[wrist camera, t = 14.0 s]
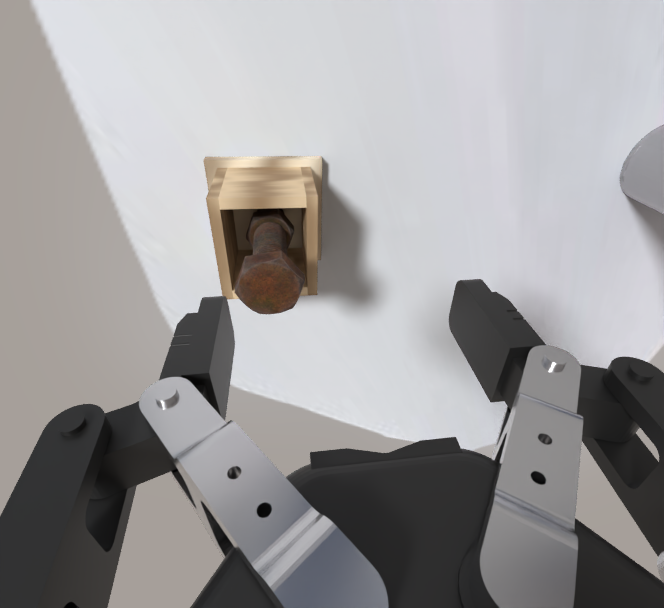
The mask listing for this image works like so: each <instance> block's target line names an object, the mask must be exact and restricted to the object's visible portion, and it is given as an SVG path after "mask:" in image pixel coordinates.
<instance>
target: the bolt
mask: <svg viewBox="0 0 664 608" xmlns="http://www.w3.org/2000/svg"><path fill="white" fill-rule="evenodd" d="M293 234H294V226H293V224H292V223H291V222H290V220H289V219H288V218H287V217H286V216H285V214H284V211H283V209H282V208H266V209H257V211H256V212H253V215H252V217H251V220H250V223H249V227H248V230H247V233H246V240H247V241H248V242H249V243H250V245H251V246H252V247H253V255H250V256H245V259H244V261H243V264H242V267H241V270H240V273H239V276H238V279H237V282H236V285H235V292H234V293H235V294H236V295H237V296H238V298H239V299H240V300H241V301H242V302H243V303H244V304H245V305H246V306H247V307H249V308H250V309H251V310H253V311H255V312H257V313H259V314H276V313H281V312H284V311H287V310H289V309H292V308H293V307H294V306H295V304H296V302H297V300H298V298H299V296H300V294H301V291H302V289H303V286H304V282H305V277H304V273H303V272H302V271H301V270H300V269H299V268H298V267H297V266H296V265H295V264H294V263H293V262H292V261H291V260H290V259H289V258H288V257H287V249H288V247H289V245H290V242H291V240H292V237H293Z"/></svg>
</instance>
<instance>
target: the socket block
mask: <svg viewBox="0 0 664 608" xmlns="http://www.w3.org/2000/svg"><path fill="white" fill-rule="evenodd" d="M204 166H205V172H206V178H207V184H208V190H209V192H208V195H207V198H206V201H207V207H208V213H209V218H210V224H211V230H212V236H213V242H214V248H215V254H216V260H217V265H218V271H219V277H220V283H221V289H222V295H223V296H226V298H227V299H239V298H238V296H237V295H236V294H235V293H234V292H235V285H236V282H237V279H238V276H239V273H240V270H241V267H242V264H243V261H244V259H245V256H250V255H253V247H252V246H251V245H250V243H249V242H248V241H247V240H246V233H247V230H248V227H249V223H250V220H251V217H252V215H253V212H256V211H257V209H266V208H282V209H283V211H284V214H285V216H286V217H287V218H288V219H289V220H290V222H291V223H292V224H293V226H294V234H293V237H292V240H291V242H290V245H289V247H288V249H287V257H288V258H289V259H290V260H291V261H292V262H293V263H294V264H295V265H296V266H297V267H298V268H299V269H300V270H301V271H302V272H303V273H304V277H305V282H304V286H303V289H302V291H301V294H300V296H305V295H317V260H321V209H322V158H321V156H280V157H205V159H204Z"/></svg>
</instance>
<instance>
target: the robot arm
mask: <svg viewBox="0 0 664 608" xmlns="http://www.w3.org/2000/svg"><path fill="white" fill-rule="evenodd" d="M620 186H621V189H622V191H623V192H624V193H625V194H626V195H627V196H628V197H630V198H632V199H634V200H636V201H638V202H640V203H642V204H644V205H646V206H648V207H650V208H652V209H654V210H656V211H658V212H660V213H662V214H664V125H662V126H659V127H658V128H656V129H654V130H653V131H651V132H650V133H648V134H647V135H646V136H645V137H644V138H642V139H641V140H640V141H639V142H638V143H637V144H636V145H635V147H634V148H633V149H632V150H631V152H630V153H629V155H628V156H627V158H626V160H625V162H624V164H623V167H622V170H621V174H620ZM449 325H450V330H451V332H452V334H453V336H454V338H455V339H456V341H457V343H458V345H459V347H460V348H461V350H462V352H463V354H464V356H465V357H466V359H467V361H468V363H469V364H470V366H471V368H472V370H473V372H474V373H475V375H476V377H477V379H478V381H479V382H480V384H481V386H482V388H483V389H484V391H485V393H486V395H487V397H488V398H489V400H490V402H499V401H505V402H506V404H507V408H506V411H505V414H504V417H503V421H502V424H501V428H500V431H499V435H498V438H497V442H496V445H495V448H494V452H493V456H492V458H489V457H487V456H485V455H482V454H480V453H477V452H474V451H470V450H466V449H461V448H460V446H459V443H458V441H457V439H456V437H451V438H441V439H432V440H422V441H419V442H416V443H413V444H411V445H408V446H405V447H403V448H400V449H397V450H395V451H392V452H390V453H378V452H370V451H362V450H354V449H337V450H328V451H318V452H311V453H310V459H311V464H309V465H307V466H304V467H302V468H300V469H298V470H296V471H294V472H293V473H291V474H290V475H288V476H287V477H285V476H284V475H283V474H282V473H281V472H280V471H279V470H278V469H277V467H275V465H274V464H273V463H272V462H271V461H270V460H269V459H268V457H267V456H266V455H265V454H264V453H263V452H262V451H261V450H260V449H259V448H258V446H257V445H256V444H255V443H254V442H253V441H252V440H251V439H250V438H249V436H248V435H247V434H246V433H245V432H244V431H243V430H242V429H241V428H240V427H239V425H238V424H236V423H235V422H234V421H229V422H228V423H227V422H226V421H225V417H226V409H227V402H228V394H229V386H230V379H231V371H232V364H233V356H234V347H235V340H234V331H233V326H232V321H231V316H230V311H229V306H228V302H227V298H226V296H218V297H204V298H202V300H201V303H200V307H199V311H198V313H188V314H186V315H185V317H184V318H183V319H182V320H181V321H180V322H179V323H178V324H177V327H176V330H175V333H174V337H173V340H172V342H171V347H170V348H169V352H168V355H167V357H166V361H165V363H164V367H163V369H162V373H161V376H160V379H159V381H157V382H155V383H154V384H152V385H151V386H149V387H148V388H147V389H146V390H145V391H144V392H143V394H142V395H141V397H140V400H139V401H138V402H136V403H134V404H132V405H129V406H126V407H123V408H121V409H117V410H114V411H111V412H108V413H104V411H103V410H102V409H101V408H100V407H98V406H97V405H93V404H83V405H78V406H74V407H72V408H69V409H67V410H65V411H63V412H61V413H60V414H58V415H57V416H56V417H54V418H53V419H52V420H51V421H50V422H49V423H48V424H47V426H46V427H45V429H44V430H43V432H42V434H41V436H40V438H39V440H38V442H37V444H36V446H35V448H34V450H33V452H32V454H31V456H30V458H29V460H28V462H27V464H26V466H25V468H24V470H23V472H22V474H21V476H20V478H19V480H18V482H17V484H16V486H15V488H14V490H13V492H12V494H11V497H10V498H9V500H8V502H7V504H6V506H5V508H4V510H3V512H2V514H1V516H0V608H107V607H108V603H109V599H110V594H111V590H112V586H113V582H114V578H115V573H116V569H117V565H118V561H119V557H120V552H121V548H122V544H123V540H124V536H125V531H126V527H127V523H128V519H129V515H130V511H131V507H132V502H133V498H134V494H135V490H136V486H137V485H138V484H140V483H143V482H145V481H148V480H150V479H153V478H155V477H158V476H160V475H163V474H165V473H167V472H170V474H171V475H172V476H173V478H174V480H175V481H176V483H177V484H178V486H179V487H180V489H181V490H182V492H183V493H184V495H185V496H186V498H187V499H188V501H189V502H190V504H191V506H192V507H193V509H194V510H195V512H196V513H197V515H198V516H199V518H200V520H201V521H202V523H203V525H204V527H205V529H206V530H207V532H208V534H209V535H210V537H211V539H212V541H213V542H214V544H215V545H216V547H217V549H218V550H219V552H220V553H221V555H222V556H223V558H224V560H223V562H222V563H221V564H220V566H219V567H218V569H217V570H216V572H215V573H214V575H213V576H212V577H211V579H210V580H209V582H208V583H207V584H206V586H205V587H204V589H203V590H202V592H201V593H200V594H199V596H198V597H197V599H196V600H195V602H194V603H193V605H192V606H191V607H190V608H664V373H663V372H661V371H660V370H659V369H658V368H656V367H655V366H653V365H652V364H650V363H648V362H645V361H643V360H640V359H637V358H632V357H618V358H615V359H614V360H613V361H612V362H611V364H610V365H609V367H608V369H605V368H598V367H591V366H585V365H580V364H579V362H578V361H577V359H576V358H575V357H574V356H572V355H571V354H570V353H568V352H566V351H565V350H562V349H560V348H557V347H554V346H548V345H546V344H545V343H544V342H543V341H542V339H541V338H540V337H539V336H538V335H537V333H536V332H535V331H534V330H533V329H532V327H531V326H530V325H529V324H528V323H527V321H526V320H524V319H523V317H522V315H521V314H520V313H519V312H517V309H516V308H515V307H514V306H513V304H512V303H511V302H510V301H509V300H508V299H506V298H505V297H503V296H502V295H500V294H499V293H497V292H491V290H490V289H489V288H488V287H487V285H486V284H485V283H484V282H483V280H481V279H474V280H460V281H458V282H457V284H456V287H455V291H454V296H453V301H452V305H451V310H450V314H449ZM639 428H641V429H642V430H643V431H644V433H645V434H646V435H647V436H648V437H649V439H650V440H651V441H652V442H653V443H654V445H655V446H656V448H657V450H658V453H659V462H658V461H657V459H656V458H655V457H654V456H653V455H652V453H651V452H650V451H649V450H648V448H647V447H646V446H645V444H644V443H643V442H642V441H641V439H640V438H639V437H638V436H637V434H636V432H637V430H638V429H639ZM582 441H583V443H584V444H585V446H586V447H587V449H588V450H589V452H590V454H591V455H592V456H593V458H594V460H595V461H596V463H597V464H598V466H599V467H600V469H601V470H602V472H603V473H604V475H605V476H606V478H607V479H608V481H609V482H610V484H611V486H612V487H613V489H614V490H615V492H616V493H617V495H618V496H619V498H620V499H621V501H622V502H623V504H624V505H625V507H626V508H627V510H628V511H629V513H630V514H631V516H632V517H633V519H634V520H635V522H636V524H637V525H638V526H639V528H640V530H641V531H642V533H643V534H644V535H645V537H646V539H647V540H648V542H649V543H650V545H651V546H652V548H653V550H654V551H655V553H656V554H657V556H658V561H657V567H658V571H659V574H660V577H661V579H662V581H663V582H662V581H661V580H659V579H658V578H657V577H655V576H654V575H653V574H651V573H649V572H648V571H647V570H646V569H644V568H643V567H642V566H640V565H639V564H637V563H636V562H635V561H633V560H632V559H630V558H629V557H628V556H626V555H625V554H624V553H622V552H621V551H619V550H618V549H617V548H615V547H614V546H612V545H611V544H610V543H608V542H607V541H606V540H604V539H603V538H602V537H600V536H599V535H598V534H596V533H595V532H593V531H592V530H591V529H589V528H588V527H586V526H585V525H584V524H582V523H581V522H579V521H578V520H577V519H575V512H576V500H577V490H578V478H579V466H580V455H581V443H582Z"/></svg>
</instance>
